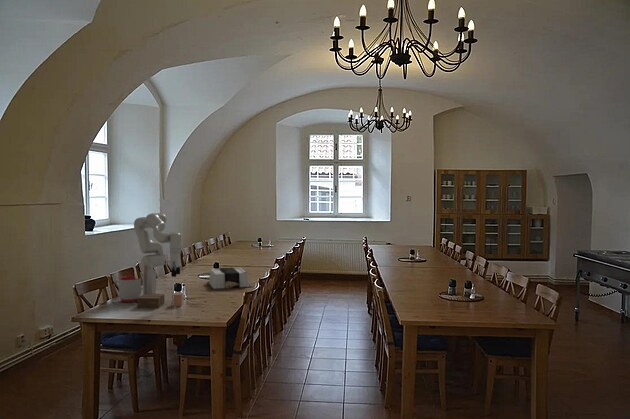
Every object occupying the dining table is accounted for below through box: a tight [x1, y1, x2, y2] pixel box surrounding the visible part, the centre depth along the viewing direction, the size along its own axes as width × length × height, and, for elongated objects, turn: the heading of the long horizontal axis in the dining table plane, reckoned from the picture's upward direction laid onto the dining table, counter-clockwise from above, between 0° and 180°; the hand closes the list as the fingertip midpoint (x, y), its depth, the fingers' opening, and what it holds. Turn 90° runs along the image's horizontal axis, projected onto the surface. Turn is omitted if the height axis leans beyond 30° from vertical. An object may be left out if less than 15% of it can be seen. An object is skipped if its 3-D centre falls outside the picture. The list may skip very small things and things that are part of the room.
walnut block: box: [136, 293, 165, 309], centre depth 345 cm, size 14×14×7 cm
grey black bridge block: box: [206, 267, 252, 290], centre depth 422 cm, size 35×33×12 cm
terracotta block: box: [172, 292, 185, 307], centre depth 348 cm, size 6×6×8 cm
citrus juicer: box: [118, 273, 143, 304], centre depth 359 cm, size 16×17×20 cm
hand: (175, 275), depth 346 cm, fingers open, 9 cm apart
